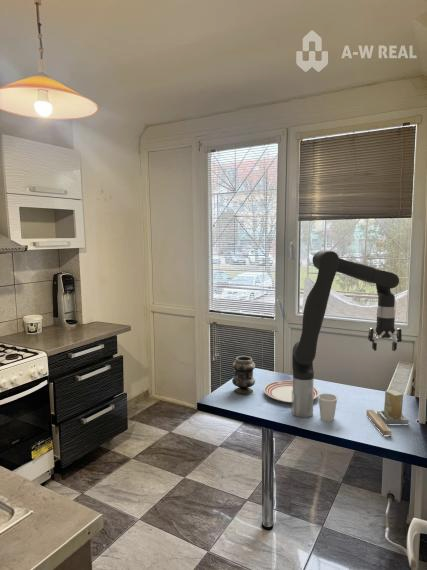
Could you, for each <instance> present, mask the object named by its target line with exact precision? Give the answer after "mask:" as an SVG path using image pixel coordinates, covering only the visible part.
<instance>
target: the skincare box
mask: <svg viewBox="0 0 427 570" xmlns="http://www.w3.org/2000/svg"><path fill="white" fill-rule="evenodd" d="M384 393H385V395H384V407H383V410H384V416H385V417H386V418H387V419H401V418H402V414H403V404H404V403H403V402H404V394H403V393H401V392H399V391H396V390H395V389H387V390H385V392H384Z"/></svg>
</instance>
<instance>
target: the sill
mask: <svg viewBox="0 0 427 570" xmlns="http://www.w3.org/2000/svg"><path fill="white" fill-rule="evenodd" d="M376 412H377V411H375V410H374V409H366V417H367V416H368V417H369V418H370V419H371V420H370V419H369V418H368V417H367V418H368V419H369V420H370V421H372V422H373V423H374V424H375V425H374V424H373V423H372V422H371V423H372V424H373V425H374V427H375V426H376V427H377V428H378V429H379V430H380V432H381V433H382V434H383V435H391V436H392V429H390V428H389V427H388V426H389V425H386V424H385V423H384V422H383V421H382V419H381V418H380V417H379V416H378V415H377V413H376ZM376 427H375V428H376ZM377 428H376V429H377ZM378 429H377V430H378ZM379 430H378V431H379ZM380 432H379V433H380ZM381 433H380V434H381ZM382 434H381V435H382ZM383 435H382V436H383Z"/></svg>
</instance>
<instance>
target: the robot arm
mask: <svg viewBox="0 0 427 570" xmlns="http://www.w3.org/2000/svg"><path fill="white" fill-rule="evenodd" d="M312 264H313V266H314V268H316V269H317V270H318V272H317V277H316V281H315V283H314V285H313V286H312V288H311V290H310V291H309V292H308V294H307V297H306V299H305V303H304V307H303V311H302V312H303V313H302V324H301V325H302V327H301V335H300V338H299V340H298V341H297V342H295V343H294V345H293V347H292V352H291V353H292V354H291V355H292V358H291V359H292V360H291V362H292V381H293V391H292V403H291V408H290V409H291V412H292V415H293V416H294V417H299V418H309V417H313V414H314V400H313V387H314V381H315V380H314V379H315V377H314V373H315V371H314V363H313V362H314V360H315V358H316V356H317V355H316V354H317V346H318V340H319V335H320V332H321V328H322V326H323V322H324V318H325V314H326V310H327V306H328V301H329V299H330V295H331V290H332V285H333V283H334V279H335V276H336V274H337V273H340V274H343V275H346V276H349V277H351V278H354V279H356V280H360V281H362V282H365V283H370V284H375V287H376V292H377V293H376V294H377V296H378V299H377V310H376V323H375V324H376V327H375V328H372V327H369V328H368V337H367V340H368V341H369V342H371V343H372V345H371V348H372V350H373V351H375V352H376V351H377V346H378V345H377V344H378V343H377V342H378V341H379V340H380V339H381V338H382V339H389V338H390V339H391V340H392V343H391V350H392V351H393V352H396V351H397V349H398V348H397V347H398V345H397V344H398V343H399V342H400V343H401V342H402V341H403V340H402V329H401V328H399V327H397V328H395V317H396V309H395V307H396V305H395V303H396V297H395V296H396V295H394V293H392V290H391V289H395V288H397V287H398V286H399V284H400V278H399V276H398V275H397V273H394V272H391V271H386V270H383V269H378V268H375V267H373V266H370V265H367V264H364V263H359V262H357V261H356V262H355V261H350V260H347V259H343V258H340V257H339V255H338V253H337V252H335V251H332V250H329V249H328V250H327V249H322V250H321V249H320V250H318V251H316V252H315V253H314V254H313V256H312ZM395 333H396V337H395V335H394V334H395ZM374 334H375V335H374Z"/></svg>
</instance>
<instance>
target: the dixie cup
mask: <svg viewBox="0 0 427 570" xmlns="http://www.w3.org/2000/svg"><path fill="white" fill-rule="evenodd" d="M317 398H318V404H319V414H320V415H319V416H320V419H321V420H322V421H324V422H333V421H334V420H335V415H336V409H337V401H338V396H337V395H335V394H332V393H326V392H324V393H319V395H318V397H317Z"/></svg>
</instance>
